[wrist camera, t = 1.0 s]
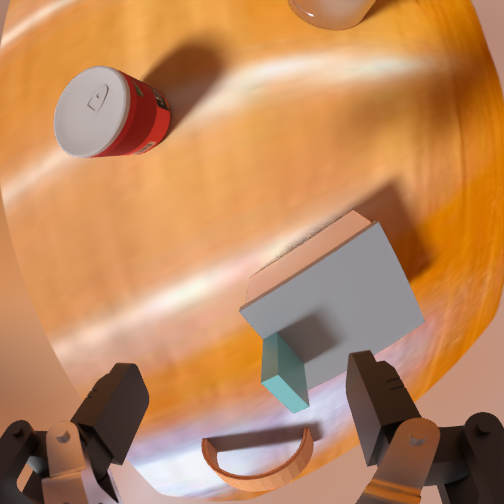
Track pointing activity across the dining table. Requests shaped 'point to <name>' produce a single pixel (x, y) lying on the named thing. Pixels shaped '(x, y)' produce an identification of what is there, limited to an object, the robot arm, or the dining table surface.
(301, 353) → the lid
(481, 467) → the robot arm
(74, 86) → the canned food
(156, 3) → the dining table surface
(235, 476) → the arch
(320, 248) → the tub
